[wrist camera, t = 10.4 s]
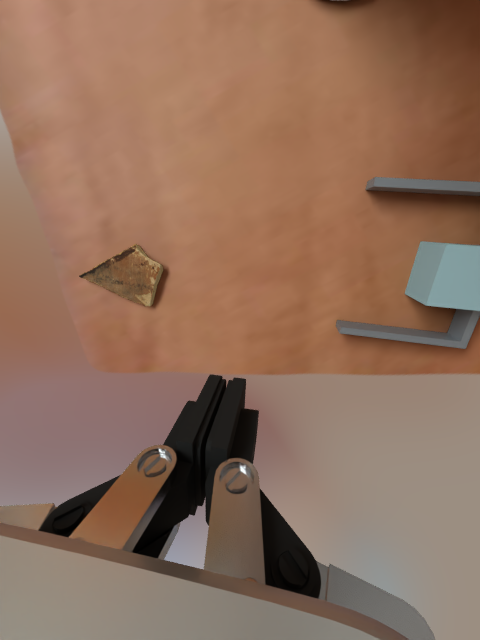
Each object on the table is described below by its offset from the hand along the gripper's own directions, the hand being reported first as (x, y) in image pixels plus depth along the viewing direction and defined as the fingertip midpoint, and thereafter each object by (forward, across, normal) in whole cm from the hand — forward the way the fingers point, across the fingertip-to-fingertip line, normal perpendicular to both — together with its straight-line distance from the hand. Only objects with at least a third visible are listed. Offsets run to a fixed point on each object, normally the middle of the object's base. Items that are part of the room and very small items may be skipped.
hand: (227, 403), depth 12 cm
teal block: (+23, -20, -4) cm, 30 cm away
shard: (+23, +19, 0) cm, 30 cm away
